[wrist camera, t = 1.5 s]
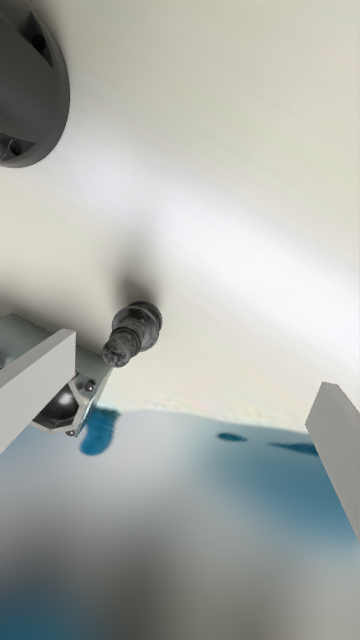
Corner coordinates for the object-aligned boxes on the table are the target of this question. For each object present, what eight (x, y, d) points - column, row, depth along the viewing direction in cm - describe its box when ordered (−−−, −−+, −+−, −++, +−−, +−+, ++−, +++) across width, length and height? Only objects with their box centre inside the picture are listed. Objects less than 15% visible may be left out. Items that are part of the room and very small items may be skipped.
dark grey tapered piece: (133, 346, 37) (97, 397, 26) (113, 308, 36) (66, 345, 24) (171, 332, 36) (151, 380, 24) (152, 292, 34) (122, 323, 23)
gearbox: (-2, 368, 41) (-44, 395, 34) (12, 313, 38) (-31, 331, 31) (92, 414, 42) (69, 448, 35) (114, 364, 38) (93, 392, 32)
